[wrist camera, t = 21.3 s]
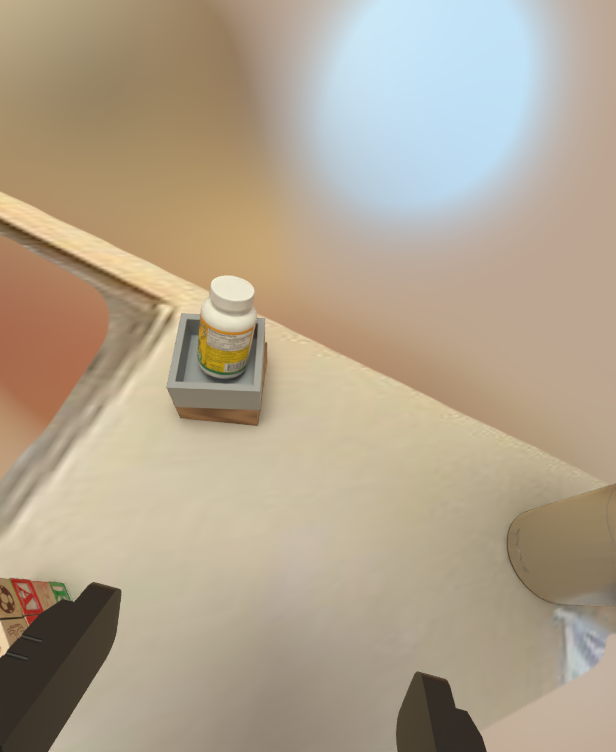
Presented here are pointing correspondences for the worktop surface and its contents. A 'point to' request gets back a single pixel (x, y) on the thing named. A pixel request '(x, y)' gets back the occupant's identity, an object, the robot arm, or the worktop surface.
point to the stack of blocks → (24, 606)
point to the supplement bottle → (226, 327)
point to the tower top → (207, 391)
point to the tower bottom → (224, 410)
